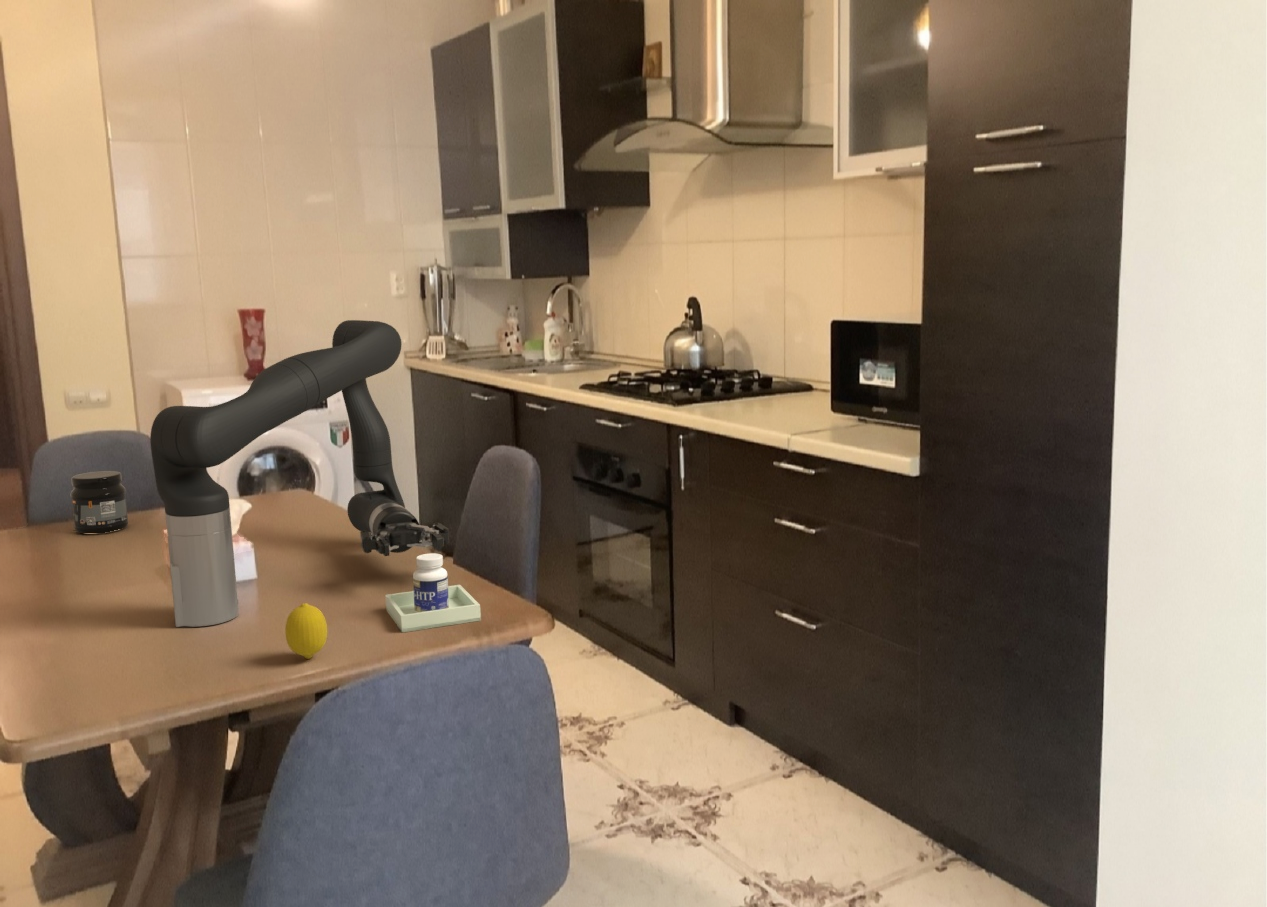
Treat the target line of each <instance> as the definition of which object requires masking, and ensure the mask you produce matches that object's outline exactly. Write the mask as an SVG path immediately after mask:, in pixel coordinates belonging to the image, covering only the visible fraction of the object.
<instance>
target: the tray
mask: <svg viewBox="0 0 1267 907" xmlns="http://www.w3.org/2000/svg"><path fill="white" fill-rule="evenodd" d="M384 596H385V610H386V612H387V613H388V614H389V616H390V617H391V619H392V620H393V622H394V621H395V622H394V623H395V624H397V625H396V626H397V627H398V629H399V630H400V632H401V633H409V632H415V631H421V630H429V629H435V628H441V627H446V626H452V625H453V626H455V625H461V624H468V623H473V622H474V623H475V622H481V621H482V614H481V604H480V603H479V602H478V601H477V600H476V599H475V598H474V597H473V596H472V595H471V594H470V593H469V592H468V591H467V590H466V589H465V588H464V587H463V586H462V585H461V584H455V585H448V598H449V608H446V609H440V610H433V611H426V612H419V613H415V609H414V590H412V591H411V590H410V591H404V592H403V591H402V592H398V593H390V594H389V593H388V594H385V595H384Z"/></svg>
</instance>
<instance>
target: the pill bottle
mask: <svg viewBox="0 0 1267 907" xmlns="http://www.w3.org/2000/svg"><path fill="white" fill-rule="evenodd" d="M443 558H444V557H443V555H442V554H440V553H435V552H434V553H424V554H420V555H418V556H416V559H415V560H416V567H417V569H415V571H414V572H413V574H412V584H413V585H412V586H413V591H414V609H415V613H419V612H426V611H433V610H440V609H446V608H449V598H448V586H449V580H448V571H447V570H446V569H445V568H443V565H444V559H443Z"/></svg>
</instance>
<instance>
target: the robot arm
mask: <svg viewBox="0 0 1267 907" xmlns="http://www.w3.org/2000/svg"><path fill="white" fill-rule="evenodd" d="M331 342H332V343H331V345H332V346H331V347H327V348H321V349H316V350H311V351H310V350H309V351H305V352H301V353H297V354H294V355H292V356H288V357H285V358H284V359H281V360H280V361H277V362H275V363H274V364H272V365H270V366H268V367H266V368H264V369H263V370H262V371H260V372H259V373H258V374H257V375H256V376H255V377H254V379H253V381H252V382H251V383H250V386H249V388H248V390H247V391H246V392H244V393H243V394H241V395H239V396H237V397H235V398H232V399H230V400H228V401H225V402H222V403H218V404H216V405H211V406H197V405H196V406H195V405H193V406H191V405H173V406H169V407H166V408H164V409H161V411H160V412H159V413H158V414H156V416H155V418H154V420H153V422H152V425H151V428H150V439H149V440H150V453H151V460H152V466H153V472H154V473H153V474H154V478H155V485H156V486H155V487H156V491H157V493H158V496H159V498H160V500H161V501H162V504H163V507H164V514H165V522H166V523H165V524H166V534H167V543H168V544H167V546H168V556H169V571H170V579H171V589H172V590H171V591H172V592H171V593H172V602H173V611H174V621H175V622H174V624H175V627H176V628H180V627H191V628H192V627H193V628H194V627H206V626H207V627H208V626H214V625H219V624H222V623H226V622H229V621H231V620H233V619H235V618H237V617H238V616H239V613H240V612H239V599H238V591H237V590H238V586H237V578H236V577H237V576H236V575H237V574H236V565H235V563H236V562H235V553H234V540H233V531H232V530H233V529H232V528H233V527H232V520H231V518H232V517H231V507H230V506H231V505H230V495H229V492H228V490H227V489H226V487H224V486H222V485H220V484H219V483H218V482H216V481H215V480H214V479H213V478H212V477H211V475H210V473H209V472H208V470H207V469H208V468H212V467H213V468H214V467H217V466H218V465H221V464H223V463H225V462H227V461H228V460H229V459H230V458H232V457H234V456H235V455H236V454H238V453H239V452H240V451H241V450H243V449H244V448H246V447H247V446H248V445H250V444H251V443H252V442H254V441H255V440H256V439H258V438H259V437H261V436H262V435H263V434H266V433H267V432H269V431H271V430H273V429H275V428H277V427H279V426H281V425H282V424H284V423H286V422H288V421H290V420H292V419H293V418H297V417H298V416H300V415H301V414H304V413H305V412H308V410H310V409H313V407H316V406H317V405H319V404H320V403H321V402H324V401H325V400H327V399H329V398H331V397H332V396H335V395H336V394H338V393H339V392H341V393H342V397H343V402H344V406H345V408H346V413H347V414H346V415H347V417H348V422H349V428H350V435H351V436H350V437H351V443H352V445H351V447H352V456H353V457H352V458H353V469H354V475H355V477H356V478H357V479H358V480H359V481H362V482H368V483H378V484H381V485H382V487H383V488H382V490H381V489H380V490H371V491H363V492H359V493H356V494H354V495H353V496H351V498H350V499H349V500H348V503H347V508H346V509H347V516H348V517H347V518H348V519H349V521H350V523H351V525H352V526H353V527H354V528H355V529H356V530H357V531H359V533H360V534H359V536H360V547H361V549H362V551H363V552H364V553H365V554H369V553H372V551H373V550H375V553H379V554H381V555H383V556H384V557H389V556H390V552H391V553H395V554H397V553H398V554H400V553H404V552H407V551H409V550H411V549H412V548H413V547H420V548H426V547H429V546H432V547H433V548H434V549H435V550H436V551H441V550H442V548H443V547H445V545H447V544H449V543H450V538H449V537H450V536H449V530H450V529H449V528H448V527H446V526H445V525H443V524H442V523H441V522H435V523H433V525H432V526H431V527H429V526H428V525H423V524H422V525H420V523H419V521H418V519H417V517H415V516H414V514H412V513H411V512H410V511H409V510H408V509H406V505H405V502H404V499H403V497H402V494H401V491H400V490H399V487H398V483H397V481H396V478H395V473H394V468H393V467H394V466H393V457H392V456H393V455H392V444H391V437H390V433H389V429H388V426H387V424H386V422H385V420H384V418H383V417H382V415H381V413H380V411H379V409H378V408H377V405H376V403H375V402H374V400H373V398H372V396H371V393H370V390H369V387H368V384H367V379H368V378H370V377H373V376H376V375H379V374H380V373H383V372H385V371H387V370H390V368H391V367H393V366H394V364H395V363H397V362H396V361H397V360H398V358H399V357H400V354H401V352H402V338H401V336H400V334H399V332H398V330H397V329H396V328H395V327H394V326H392V325H391V324H388V323H386V322H383V321H377V320H375V321H374V320H359V319H358V320H357V319H355V320H354V319H351V320H348V319H347V320H344V321H342V322H340V323H339V324H338V325H337V327H336V328H335V330H334V332H333V335H332V341H331Z"/></svg>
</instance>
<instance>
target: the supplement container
mask: <svg viewBox="0 0 1267 907" xmlns="http://www.w3.org/2000/svg"><path fill="white" fill-rule="evenodd" d="M70 480H71V486H72V487H73V489H72V490H71V491H70V494H69V495H70V498H71V507H72V517H73V529H74V531H75V532H76V533H78V534H80V533H105V532H110V531H114V530H118V529H122V528H124V529H126V528H127V527H128V525H129V518H128V507H127V498H126V487H125V486H124V485H123V484H122V481H123V480H122V473H121V472H120V471H115V470H102V471H89V472H84V473H80V474H79V473H78V474H75V475H73V476H72V477H71V478H70ZM126 526H127V527H126ZM122 530H123V529H122Z"/></svg>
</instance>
